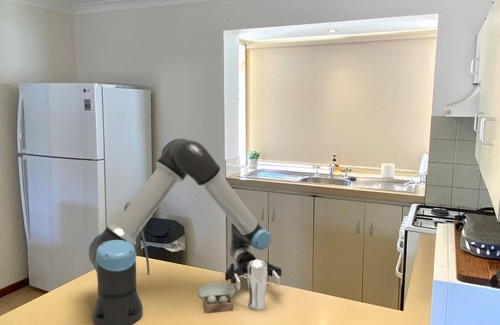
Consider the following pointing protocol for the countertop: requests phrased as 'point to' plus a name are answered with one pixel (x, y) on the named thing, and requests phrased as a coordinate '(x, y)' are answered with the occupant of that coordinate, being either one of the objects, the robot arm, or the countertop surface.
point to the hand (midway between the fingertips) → (259, 283)
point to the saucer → (216, 289)
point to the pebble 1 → (211, 300)
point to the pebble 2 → (223, 299)
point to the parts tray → (217, 306)
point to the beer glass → (257, 283)
